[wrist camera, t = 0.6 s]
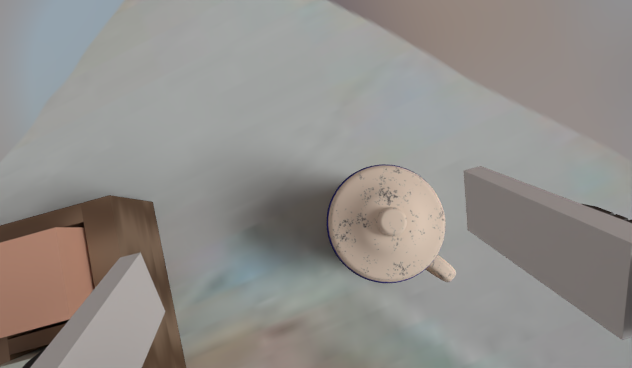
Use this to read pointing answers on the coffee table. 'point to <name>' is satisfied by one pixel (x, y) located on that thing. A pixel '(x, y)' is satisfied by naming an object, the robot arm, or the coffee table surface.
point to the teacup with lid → (388, 225)
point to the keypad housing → (106, 267)
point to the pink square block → (43, 278)
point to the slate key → (20, 360)
